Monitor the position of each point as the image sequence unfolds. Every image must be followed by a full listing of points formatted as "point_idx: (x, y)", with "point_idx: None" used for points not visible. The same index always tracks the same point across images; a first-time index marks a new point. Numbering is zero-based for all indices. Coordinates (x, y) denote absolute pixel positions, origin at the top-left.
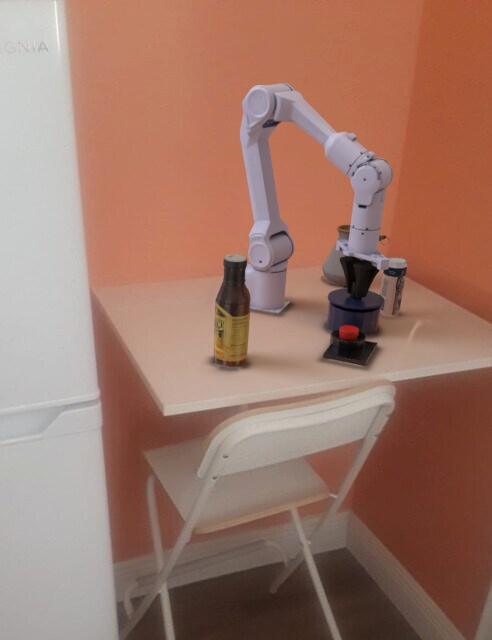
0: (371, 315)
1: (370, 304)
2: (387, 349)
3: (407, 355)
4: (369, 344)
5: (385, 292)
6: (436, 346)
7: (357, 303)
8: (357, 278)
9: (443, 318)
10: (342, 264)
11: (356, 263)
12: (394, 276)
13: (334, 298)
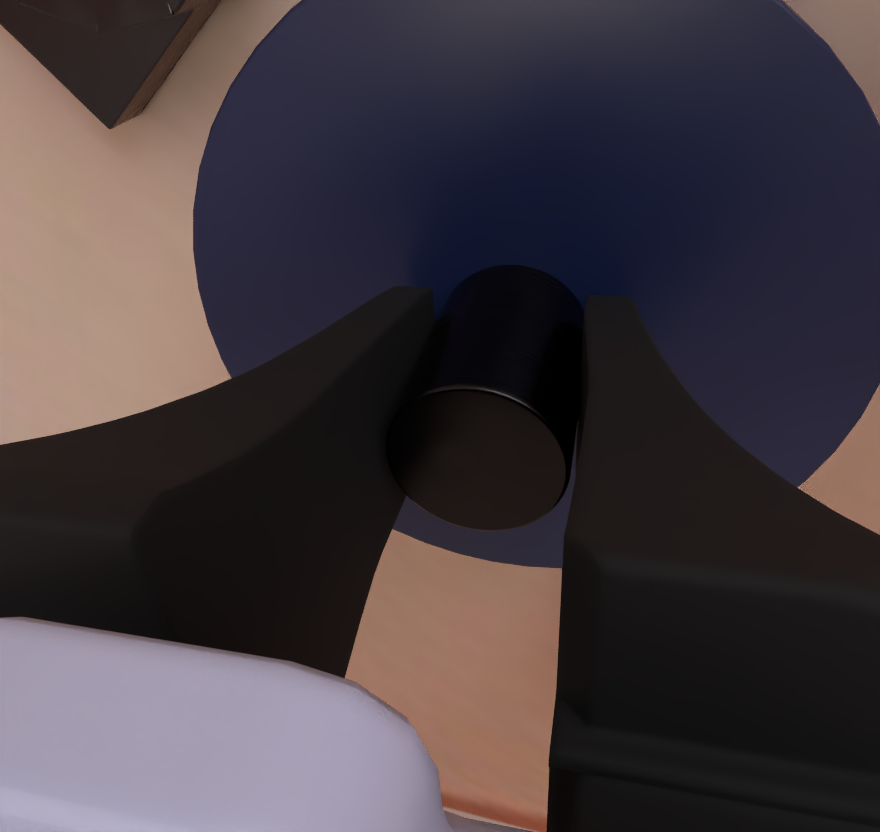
0: None
1: (262, 327)
2: (130, 188)
3: (35, 246)
4: (79, 38)
5: None
6: None
7: (320, 216)
8: (265, 398)
9: (475, 707)
10: (767, 512)
11: (142, 596)
12: None
13: (603, 22)
